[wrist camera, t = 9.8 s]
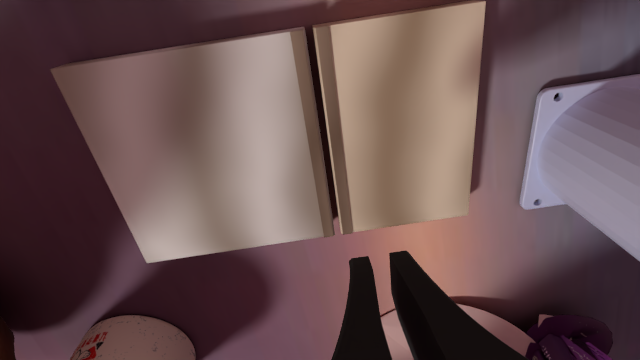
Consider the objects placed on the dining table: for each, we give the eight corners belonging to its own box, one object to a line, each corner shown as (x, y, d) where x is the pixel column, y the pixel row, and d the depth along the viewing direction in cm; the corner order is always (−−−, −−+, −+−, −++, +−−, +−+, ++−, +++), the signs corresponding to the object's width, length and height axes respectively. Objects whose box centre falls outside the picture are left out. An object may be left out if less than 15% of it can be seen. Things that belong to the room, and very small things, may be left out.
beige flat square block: (303, 26, 17) (304, 29, 16) (332, 221, 23) (335, 235, 22) (68, 63, 17) (48, 69, 16) (155, 247, 23) (146, 264, 22)
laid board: (471, 0, 17) (486, 1, 16) (458, 202, 23) (468, 216, 22) (312, 25, 17) (313, 28, 16) (338, 220, 23) (341, 234, 22)
